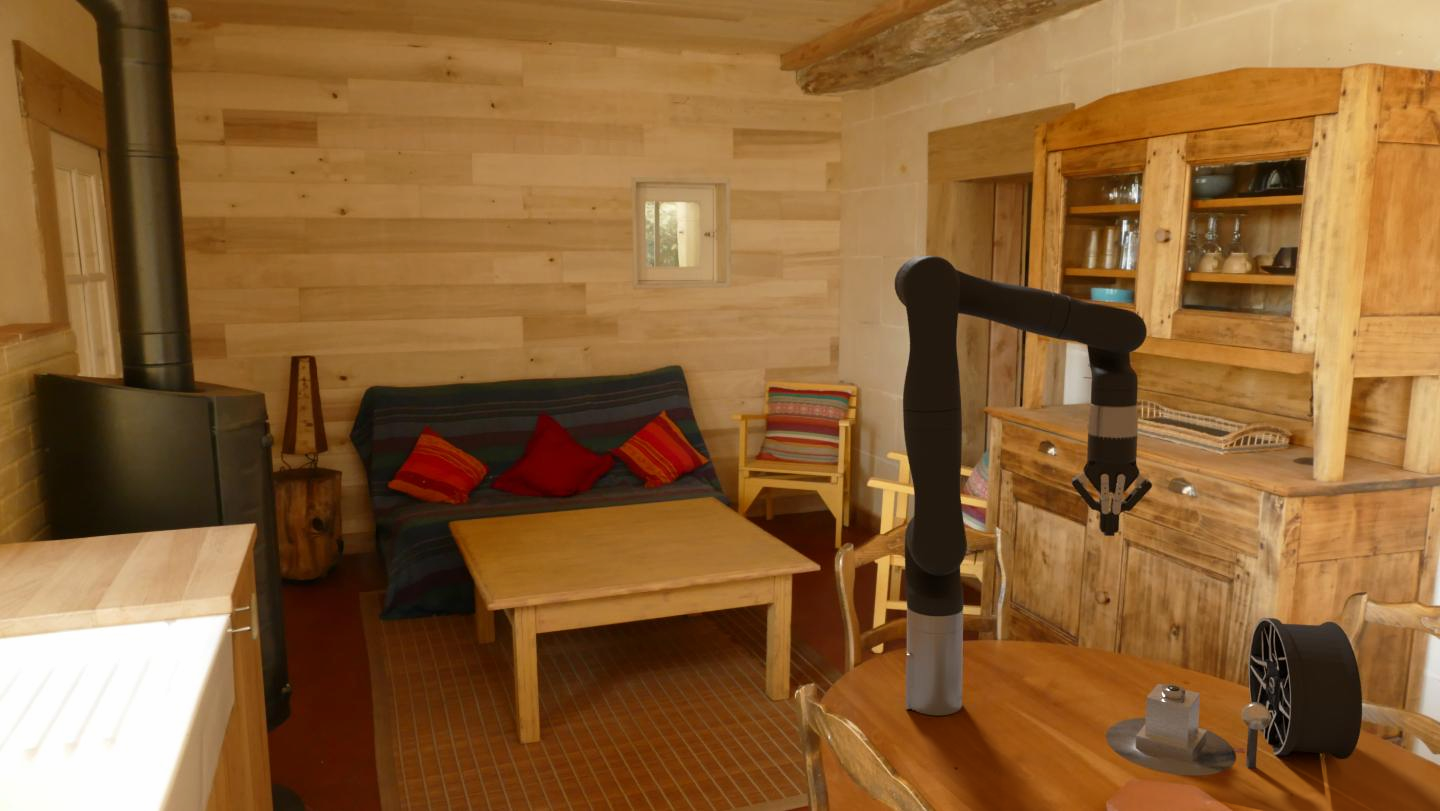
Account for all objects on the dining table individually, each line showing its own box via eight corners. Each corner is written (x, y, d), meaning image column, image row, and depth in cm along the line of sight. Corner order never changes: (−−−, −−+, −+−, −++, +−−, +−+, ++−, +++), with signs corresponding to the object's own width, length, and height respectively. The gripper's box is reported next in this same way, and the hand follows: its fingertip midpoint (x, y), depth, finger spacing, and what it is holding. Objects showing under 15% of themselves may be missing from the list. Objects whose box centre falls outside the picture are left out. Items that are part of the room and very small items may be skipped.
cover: (1135, 748, 154) (1137, 690, 152) (1151, 727, 160) (1153, 672, 158) (1192, 763, 149) (1195, 704, 147) (1206, 742, 155) (1209, 685, 153)
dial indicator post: (1240, 779, 146) (1244, 705, 145) (1234, 768, 149) (1238, 695, 148) (1267, 781, 146) (1272, 706, 144) (1260, 770, 149) (1265, 697, 147)
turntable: (1116, 772, 148) (1116, 769, 148) (1097, 716, 165) (1097, 713, 165) (1262, 784, 144) (1262, 780, 144) (1227, 725, 161) (1227, 722, 161)
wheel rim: (1245, 717, 165) (1252, 599, 162) (1307, 721, 163) (1315, 602, 160) (1286, 780, 146) (1294, 647, 143) (1357, 786, 144) (1367, 651, 141)
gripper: (1072, 435, 163) (1069, 539, 166) (1160, 436, 160) (1156, 542, 163) (1067, 426, 170) (1064, 527, 173) (1151, 428, 168) (1147, 530, 170)
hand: (1108, 534), depth 168 cm, fingers closed
